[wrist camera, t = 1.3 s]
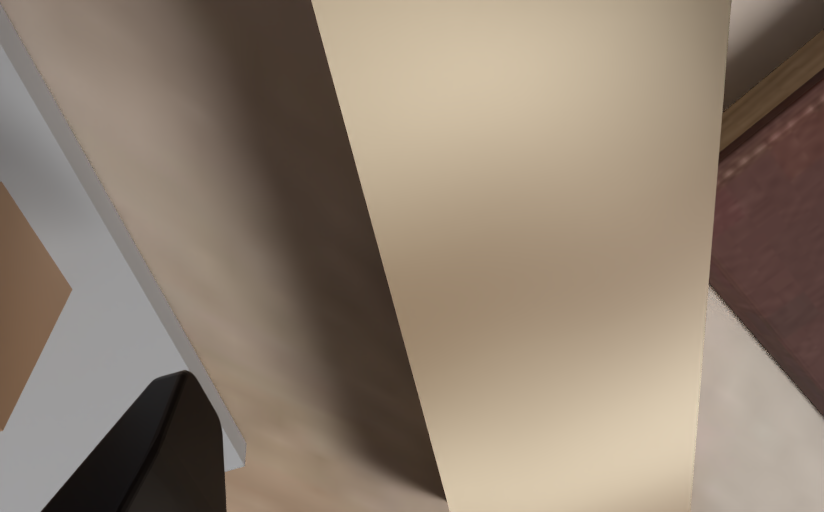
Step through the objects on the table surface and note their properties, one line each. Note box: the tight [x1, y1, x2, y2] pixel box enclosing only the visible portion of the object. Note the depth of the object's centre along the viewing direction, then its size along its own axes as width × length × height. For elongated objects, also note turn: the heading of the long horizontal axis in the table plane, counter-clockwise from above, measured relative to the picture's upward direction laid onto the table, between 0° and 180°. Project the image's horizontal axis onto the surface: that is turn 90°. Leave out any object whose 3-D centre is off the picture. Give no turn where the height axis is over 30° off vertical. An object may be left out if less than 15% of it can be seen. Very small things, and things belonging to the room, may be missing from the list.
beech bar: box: [311, 0, 731, 512], centre depth 10 cm, size 18×4×4 cm, turn 11°
